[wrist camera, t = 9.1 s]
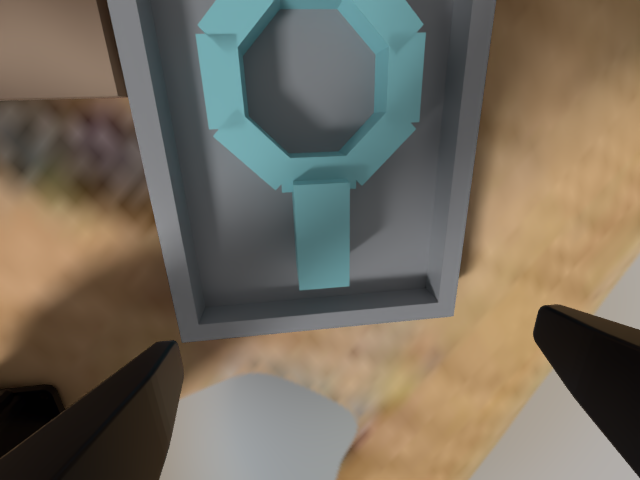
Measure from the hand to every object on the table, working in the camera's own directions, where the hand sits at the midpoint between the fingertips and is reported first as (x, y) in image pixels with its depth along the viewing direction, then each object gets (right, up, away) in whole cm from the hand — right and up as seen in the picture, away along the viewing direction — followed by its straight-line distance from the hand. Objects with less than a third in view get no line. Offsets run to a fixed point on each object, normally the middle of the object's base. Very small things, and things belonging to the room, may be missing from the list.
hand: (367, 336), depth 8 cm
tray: (-2, +8, +9) cm, 12 cm away
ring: (-2, +7, +8) cm, 11 cm away
